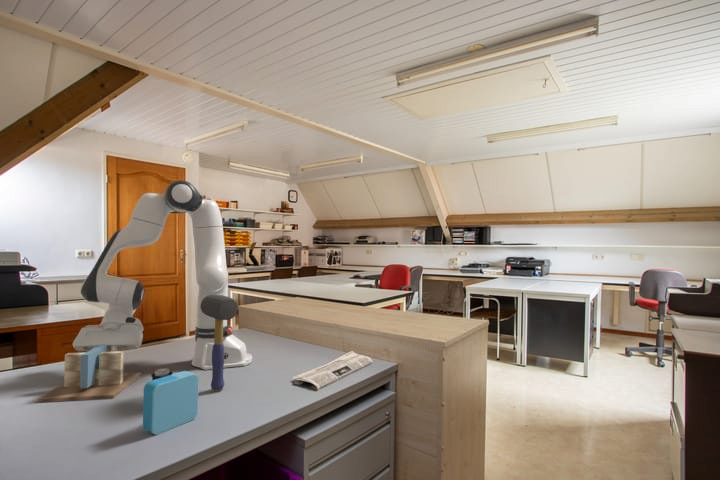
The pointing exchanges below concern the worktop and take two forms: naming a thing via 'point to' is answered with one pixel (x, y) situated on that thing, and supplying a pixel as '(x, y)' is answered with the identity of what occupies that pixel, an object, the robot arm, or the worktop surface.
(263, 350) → the worktop surface
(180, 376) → the blue carrying case
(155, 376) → the push button
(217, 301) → the rubber mallet
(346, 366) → the newspaper
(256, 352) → the worktop surface
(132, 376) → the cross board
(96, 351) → the slotted plate
